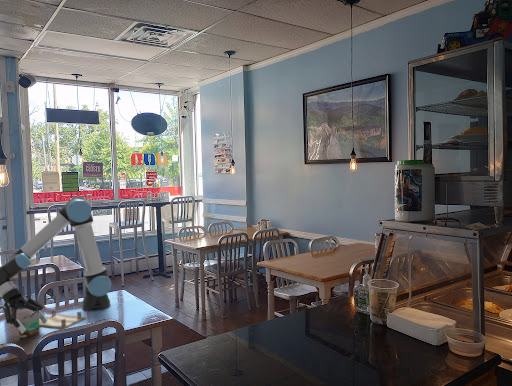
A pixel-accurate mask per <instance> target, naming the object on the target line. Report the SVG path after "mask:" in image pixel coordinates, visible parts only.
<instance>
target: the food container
mask: <svg viewBox="0 0 512 386" xmlns="http://www.w3.org/2000/svg"><path fill="white" fill-rule="evenodd" d="M40 317H41V315H40V313H39V311H35V312H32V313H31V314H27V315H25V316H24V317H22V318H18V319H19V321H20V322H21V323H22V325H23V326H24V327H25V329H26V330H25V332H24V333H21V332H20V331H19V330H18V334H19V339H20V340H23V339H25V340H26V339H29V338H34V337H36V336H38V335H39V333H40V326H39V320H40Z"/></svg>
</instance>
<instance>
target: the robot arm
mask: <svg viewBox="0 0 512 386" xmlns="http://www.w3.org/2000/svg"><path fill="white" fill-rule="evenodd" d="M92 210H93V209H92V208H91V204H90V203H89V202H88V201H87V200H84V199H82V198H72V199H70V200H69V201H68V202H67V203H66V204H65V205H64V206H63V207H62V208H61V209H60V210H59V211H58V212H57V215H56V216H55V217H54V218H53V219H52V220H50V222H49V223H47V224H46V225H45V226H44V227H43V228H41V230H39V231H38V232H37V233H36V234H34V235H33V237H31V238H30V239H29V240H28V241H27V242H26V243H25V244H24V245H22V246H21V247H20V249H18V250H17V251H16V252H14V253H13V254H11V255H10V258H9V261H7V262H6V263H5V264H4V265H2V266H0V298H2V300H3V301H4V304H3V305H2V306H1V308H2V309H3V313H4V317H5V322H6V324H9V325H13V326H14V327H15V328H16V329H18V332H19V331H20V332H21V333H24V332H25V330H26V329H25V327H24V326H23V325H22V323H21V322H20V321H19V319H20V318H17V312H18V311H17V310H19V309H22V308H23V309H27V310H30V311H32V312H33V313H35V311H39V313H40V315H41V317H40V318H39V320H41V321H42V322H43V323H44V324H45V323H46V322H47V321H48V319H47V318H46V317H47V316H46V314H45V312H43V309H44V306H43V305H42V304H40V303H39V302H38V301H36V300H34V299H33V298H32V297H31V296H30V295H27V296H25V297H23V296H22V293H21V291H20V290H19V289H18V287H17V286H16V285H15V283H14V282H13V281H12V278H14V277H15V276H17V275H19V274H20V273H21V272H23V271H24V270H25V269H27V268H28V267H29V266H31V265H32V261H31V259H32V258H33V257H34V256H35V255H36V254H37V253H38V252H40V251H41V250H42V249H43V248H44V247H45V246H46V245H47V244H48V243H50V242H51V241H52V240H53V239H54V238H56V236H57V235H58V234H60V233H61V232H62V231H63V230H65V228H66V227H67V226H69V225H70V228H72V229H74V232H75V235H76V240H77V242H78V246H79V250H80V253H81V257H82V261H83V264H84V268H85V269H83V279H84V298H83V301H82V304H81V307H82V310H84V311H89V312H90V311H91V312H92V311H100V310H104V309H106V308H109V307H110V306H111V300H110V298H109V295H108V293H109V292H110V290H111V288H112V281H111V279H110V278H109V273H108V271H107V267H106V266H104V265H103V262H102V259H101V255H100V251H99V247H98V244H97V241H96V237H95V233H94V230H93V226H92V224H93V223H94V218H93V215H92ZM10 309H11V310H10Z"/></svg>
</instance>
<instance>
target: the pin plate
mask: <svg viewBox="0 0 512 386" xmlns="http://www.w3.org/2000/svg"><path fill="white" fill-rule="evenodd" d="M45 317H46V318H47V319H48V321H47V322H46V323H45V324H44V323H43V322H42V321H41V320H40V319H39V328H40V327H41V328H50V329H51V328H52V329H60V330H65V329H67V328H69V327H72V326H73V325H76V324H78V323H80V322H81V321H83V320H85V319H86V316H83V315H82V311H77V312H76V315H71V314H61V313H57V311H56V309H55V308H53V309H51V314H50V315H47V316H45ZM64 328H65V329H64Z"/></svg>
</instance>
